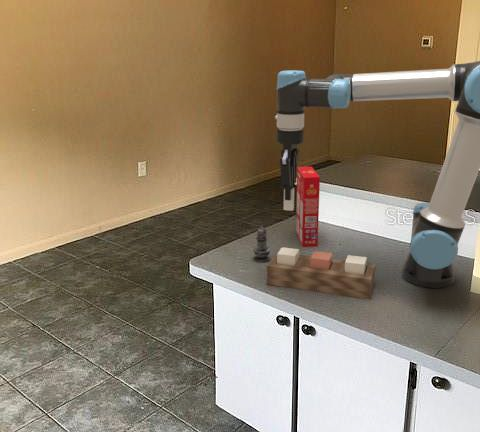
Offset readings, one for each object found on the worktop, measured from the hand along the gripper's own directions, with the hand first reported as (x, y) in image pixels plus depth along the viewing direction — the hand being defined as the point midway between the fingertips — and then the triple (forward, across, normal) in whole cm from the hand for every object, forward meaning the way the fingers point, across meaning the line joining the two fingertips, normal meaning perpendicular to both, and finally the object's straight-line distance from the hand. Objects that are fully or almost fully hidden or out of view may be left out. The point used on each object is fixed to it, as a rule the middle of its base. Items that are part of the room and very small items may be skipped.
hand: (288, 209), depth 156 cm
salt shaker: (+23, -12, -12) cm, 28 cm away
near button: (+17, 0, +20) cm, 27 cm away
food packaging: (+23, -34, -2) cm, 41 cm away
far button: (+17, 0, 0) cm, 17 cm away
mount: (+22, 0, +10) cm, 24 cm away
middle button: (+17, 0, +10) cm, 20 cm away
